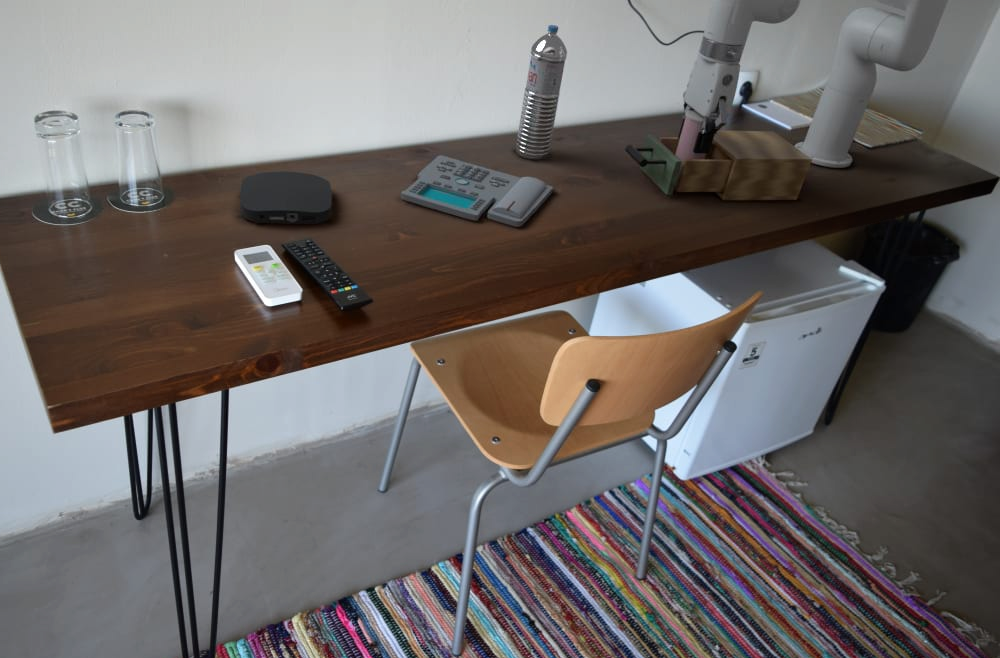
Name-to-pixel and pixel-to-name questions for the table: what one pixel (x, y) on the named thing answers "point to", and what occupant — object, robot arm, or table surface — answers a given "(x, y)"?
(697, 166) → the drawer
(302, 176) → the media streaming box
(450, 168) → the office telephone
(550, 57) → the water bottle
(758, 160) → the wood-grain box
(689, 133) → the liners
